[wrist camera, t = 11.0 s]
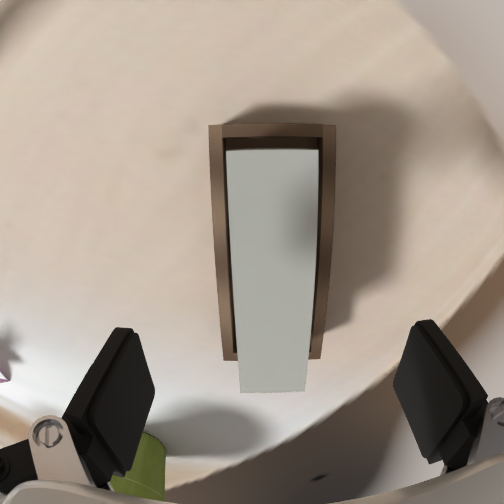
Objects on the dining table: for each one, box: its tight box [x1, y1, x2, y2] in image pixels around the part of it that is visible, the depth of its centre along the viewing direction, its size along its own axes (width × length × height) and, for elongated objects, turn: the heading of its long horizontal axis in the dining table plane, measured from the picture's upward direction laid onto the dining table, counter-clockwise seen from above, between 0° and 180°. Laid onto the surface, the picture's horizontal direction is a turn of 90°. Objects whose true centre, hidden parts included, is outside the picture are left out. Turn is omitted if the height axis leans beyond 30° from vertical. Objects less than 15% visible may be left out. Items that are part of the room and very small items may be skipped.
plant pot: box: [110, 432, 166, 502], centre depth 27 cm, size 12×12×11 cm
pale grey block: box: [226, 148, 318, 393], centre depth 18 cm, size 14×4×7 cm, turn 2°
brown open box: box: [209, 123, 336, 361], centre depth 21 cm, size 17×8×3 cm, turn 1°
